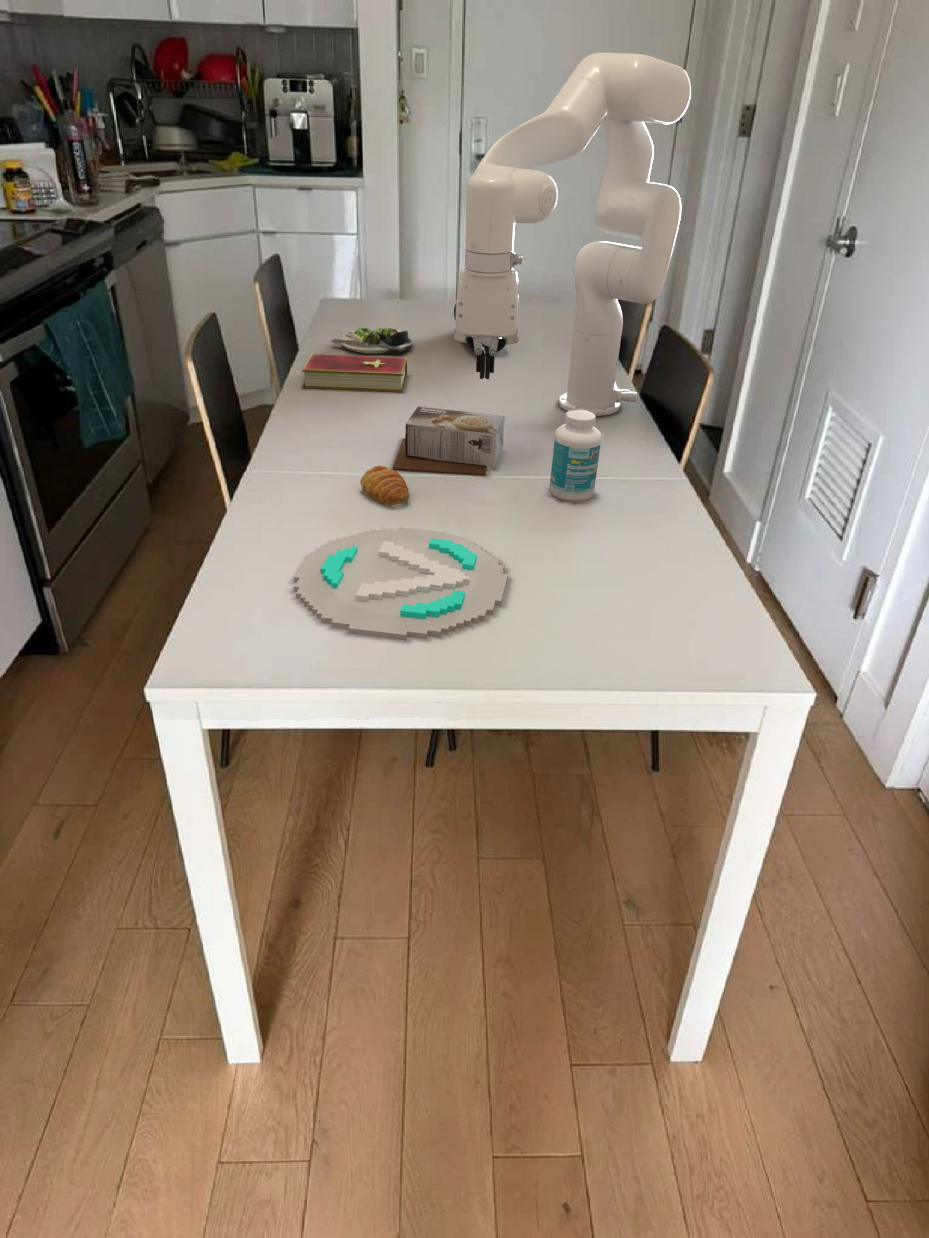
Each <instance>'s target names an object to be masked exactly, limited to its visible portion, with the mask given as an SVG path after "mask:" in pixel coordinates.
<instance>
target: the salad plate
mask: <svg viewBox="0 0 929 1238" xmlns="http://www.w3.org/2000/svg"><path fill="white" fill-rule="evenodd" d="M330 343H333V344H336V345H339V346H342V347H344V348H345V349H346V350H349V351H351V352H355V353H358V354H362V355H363V354H364V355H401V354H405V353H408V352H409V351H410V350H411V349H412V346H413V341H412V339H411V336H410V335H409V331H408V330H403V331H402V330H398V329H396V328H392V327H383V328H382V327H379V328H377V329H376V330H372V329H371V328H368V327H364V328H363V327H358V328H356V330H350V331H347V332H344V333H343V334H342V335H341V339H339V338H332V339H331V340H330Z"/></svg>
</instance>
